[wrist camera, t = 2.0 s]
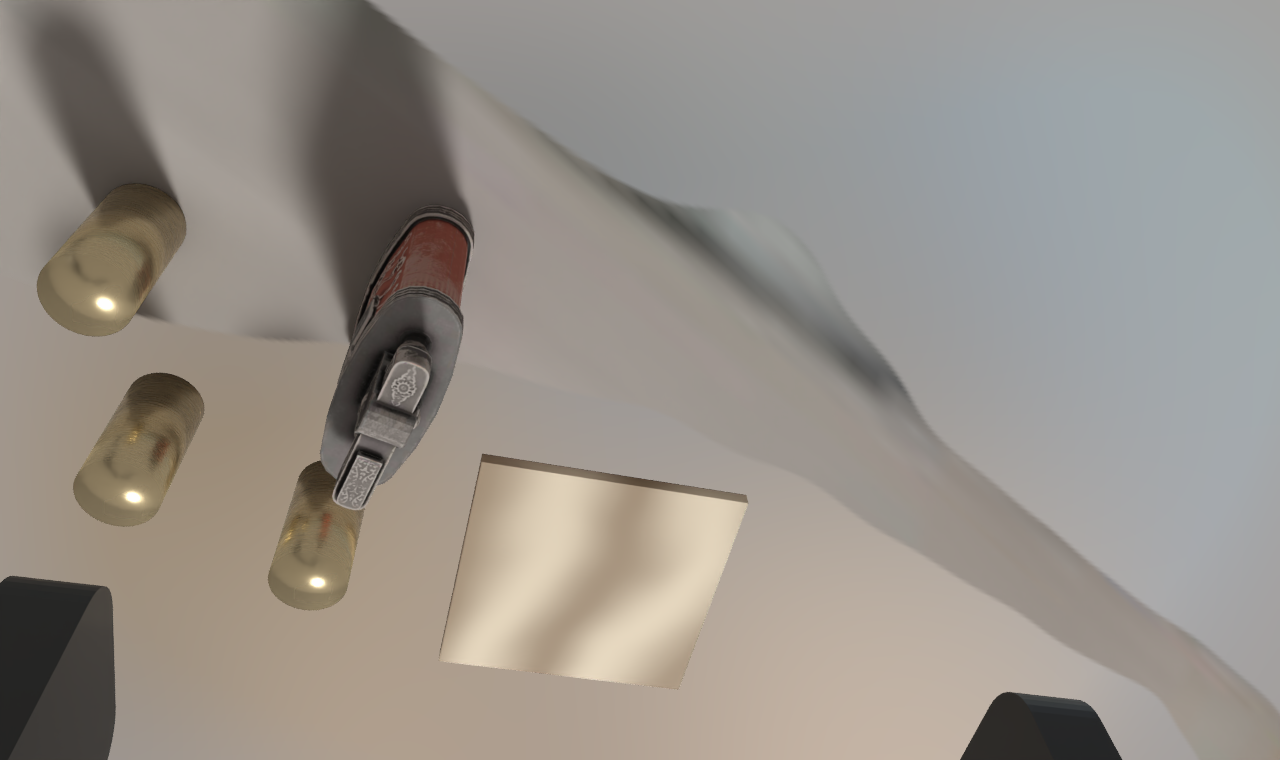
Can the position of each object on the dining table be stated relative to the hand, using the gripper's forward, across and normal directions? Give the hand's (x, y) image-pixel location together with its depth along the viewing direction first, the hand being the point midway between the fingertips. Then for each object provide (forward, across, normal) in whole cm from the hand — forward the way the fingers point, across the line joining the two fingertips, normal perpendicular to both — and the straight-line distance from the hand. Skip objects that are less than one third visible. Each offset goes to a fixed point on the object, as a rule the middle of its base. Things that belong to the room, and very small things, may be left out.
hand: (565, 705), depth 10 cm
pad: (+32, -6, +26) cm, 42 cm away
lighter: (+32, +3, +13) cm, 35 cm away
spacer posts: (+32, +10, +18) cm, 38 cm away
